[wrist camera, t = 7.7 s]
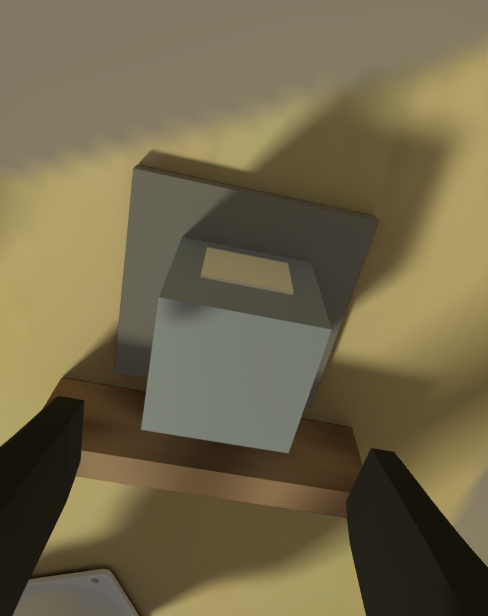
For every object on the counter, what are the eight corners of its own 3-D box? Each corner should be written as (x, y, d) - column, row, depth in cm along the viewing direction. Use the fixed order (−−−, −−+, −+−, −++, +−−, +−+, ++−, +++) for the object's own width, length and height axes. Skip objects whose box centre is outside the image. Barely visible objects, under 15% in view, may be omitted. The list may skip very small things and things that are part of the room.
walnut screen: (60, 402, 22) (24, 468, 18) (61, 377, 21) (23, 441, 17) (342, 449, 23) (359, 519, 19) (351, 427, 22) (371, 496, 19)
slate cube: (165, 346, 19) (140, 429, 15) (182, 234, 17) (159, 294, 13) (279, 366, 20) (288, 453, 15) (311, 260, 17) (332, 326, 13)
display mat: (117, 364, 21) (114, 373, 20) (136, 164, 16) (133, 168, 16) (309, 398, 21) (310, 407, 21) (374, 216, 17) (378, 221, 17)
